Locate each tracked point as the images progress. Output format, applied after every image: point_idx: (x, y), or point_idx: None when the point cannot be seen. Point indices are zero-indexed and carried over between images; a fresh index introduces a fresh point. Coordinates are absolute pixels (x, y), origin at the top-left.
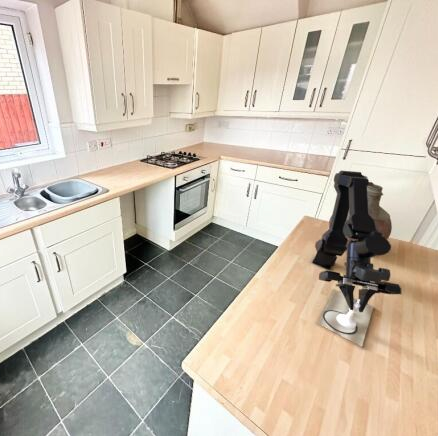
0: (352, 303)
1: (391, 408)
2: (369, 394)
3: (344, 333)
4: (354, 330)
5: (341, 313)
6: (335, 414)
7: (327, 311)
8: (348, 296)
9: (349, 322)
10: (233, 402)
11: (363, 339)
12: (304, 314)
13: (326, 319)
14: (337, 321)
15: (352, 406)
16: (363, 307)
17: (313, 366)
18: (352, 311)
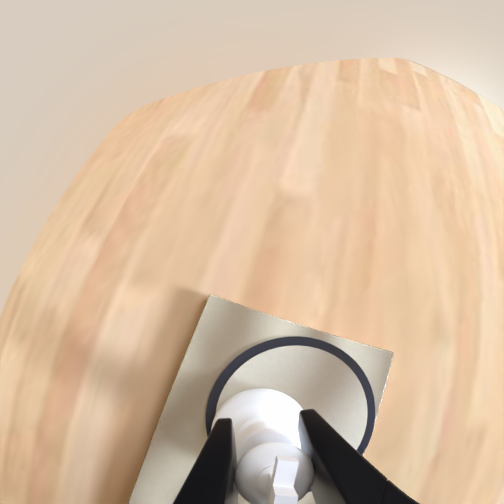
0: (331, 449)
1: (193, 115)
2: (237, 125)
3: (282, 338)
4: (226, 385)
5: None
6: (318, 77)
7: None
8: (399, 492)
9: (255, 413)
10: (447, 78)
11: (193, 340)
12: (439, 380)
13: (361, 396)
14: None
15: (284, 93)
16: (213, 452)
17: (377, 148)
18: (278, 432)
